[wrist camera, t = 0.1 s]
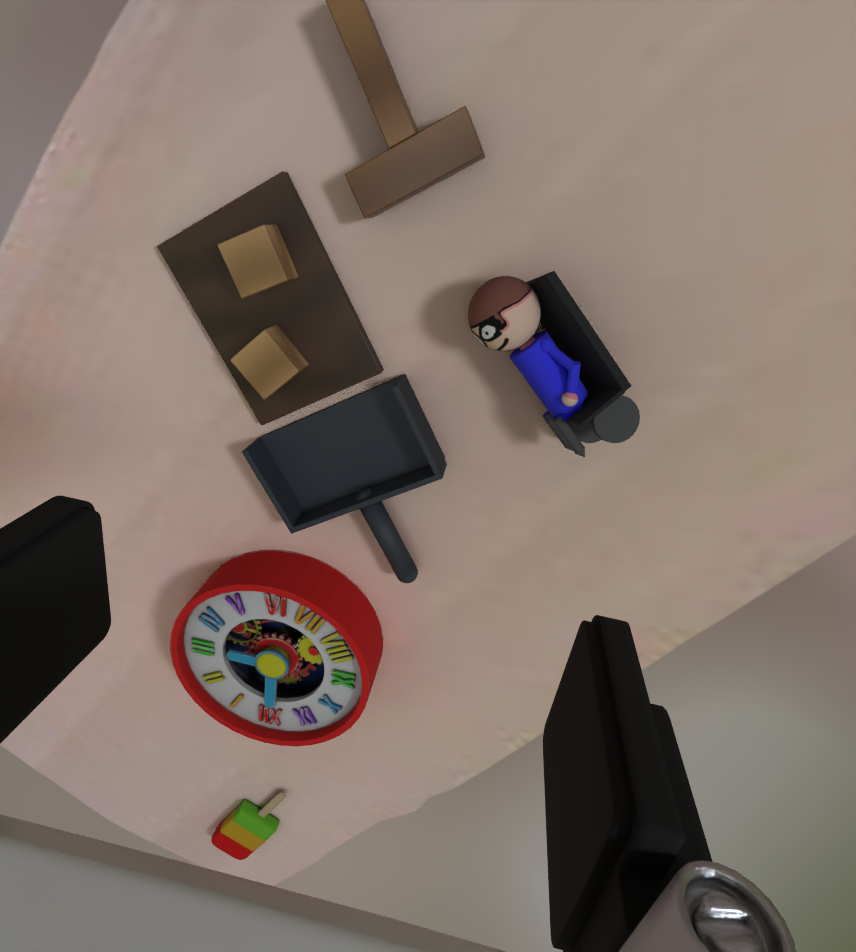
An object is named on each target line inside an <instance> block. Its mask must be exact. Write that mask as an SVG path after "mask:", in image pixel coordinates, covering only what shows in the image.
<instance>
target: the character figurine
mask: <svg viewBox="0 0 856 952" xmlns="http://www.w3.org/2000/svg"><path fill="white" fill-rule="evenodd" d="M468 321H469V325H470V328H471V331H472V333H473V334H474V336H475V337H476V338H477V340H478V341H479V342H481V343H482V344H483V345H485V346H486V347H488V348H491V349H494V350H498V351H507V350H512V349H514V351H513V352H512V353H511V355H510V358H511V360H512V361H513V363H514V364H515V365H516V367H517V368H518V369H519V371H520V372H521V374H522V375H523V376H524V378H525V379H526V381H527V382H528V383H529V385H530V386H531V387H532V389H533V390H534V392H535V393H536V394H537V396H538V397H539V398H540V400H541V401H542V403H543V404H544V405H545V407H546V408H547V410H548V411H547V412H546V413H544V414H543V418H544V419H545V420H546V422H547V423H548V424H549V426H550V427H551V429H552V430H553V431H554V433H555V434H556V435H557V437H558V438H559V440H560V441H561V442H562V444H563V445H564V446H565V448H567V449H570V450H572V451H574V452H575V454H578V455H580V456H583V457H585V447H584V446H583V445H582V443H581V442H580V441H582V442H585V443H594V442H597V441H600V440H604V441H607V442H610V443H620V442H623V441H625V440H627V439H629V438H630V437H631V436H632V435H633V434H634V433H635V431H636V429H637V427H638V425H639V419H640V415H639V410H638V407H637V406H636V404H635V403H634V402H633V401H632V400H631V399H630V398H628V397H625V396H621V395H623V394H624V393H625V391H626V390H627V389H628V388H630V387H631V385H630V383H629V382H628V380H627V379H626V377H625V376H624V374H623V373H622V371H621V370H620V368H619V367H618V365H617V364H616V362H615V361H614V359H613V358H612V356H611V355H610V353H609V352H608V350H607V349H606V347H605V346H604V344H603V343H602V341H601V340H600V338H599V337H598V335H597V334H596V332H595V331H594V329H593V328H592V326H591V325H590V323H589V322H588V320H587V319H586V317H585V316H584V314H583V313H582V311H581V310H580V308H579V307H578V306H577V304H576V303H575V301H574V300H573V298H572V297H571V295H570V294H569V292H568V291H567V289H566V288H565V286H564V285H563V283H562V282H561V280H560V279H559V277H558V276H557V274H556V273H555V271H553V272H550V273H548V274H545V275H543V276H540V277H538V278H536V279H533V280H531V281H528V282H524V281H522V280H521V279H518V278H515V277H510V276H501V277H496V278H493V279H491V280H489V281H487V282H485V283H484V284H483V285H482V286H481V287H479V288H478V290H477V291H476V292H475V294H474V295H473V297H472V299H471V301H470V305H469V309H468ZM539 321H540V322H541V324H542V325H543V327H544V328H545V330H546V331H547V332H546V331H542V332H539V333H537V334H535V335H534V333H535V331H536V329H537V327H538V325H539ZM548 334H549V335H550V336H549V335H548ZM533 335H534V336H533ZM551 338H552V339H551ZM555 344H556V345H557V346H556V345H555ZM557 347H558V348H559V349H558V348H557ZM580 380H581V381H582V382H581V381H580Z"/></svg>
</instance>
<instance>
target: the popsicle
mask: <svg viewBox="0 0 856 952" xmlns="http://www.w3.org/2000/svg"><path fill="white" fill-rule="evenodd" d="M285 796H286V795H285V794H284V793H282V792H279V793H278V794H277V795H276V796H275V797H273V798H272V799H271V800H270V801H269V802H268V803H267V804H266V805H265V806H264V807H263V808H262V809H260V808H259V807H257V806H255V805H254V804H252V803H251V802H249V801H247V800H244V801H243V802H242V803H241V804H240V805H239V806H238V807H237V808H236V809H235V810H234V811H233V812H232V813H231V814H230V815H229V816H228V817H227V818H226V819H225V820H224V821H223V822H222V823H221V824H220V825H219V826H218V827H217V828H216V830H215V832H214V834H213V836H212V840H211V841H212V844H213V845H214V846H216V847H217V848H219V849H220V850H222V851H224V852H225V853H227V854H229V855H230V856H232V857H234V858H236V859H239V860H243V859H245V858H247V857H248V856H249V855H250V854H251V853H252V852H254V851H255V850H256V849H257V848H258V847H259V846H260V845H261V844H263V843H264V842H265V841H266V840H267V839H268V838H269V837H270V836H272V835H273V834H274V833H275V832H276V830H277V827H278V825H279V820H278V819H277V818H275V817H273V816H272V815H270V814H268V813H269V812H271V811H272V810H273V809H274V808H275V807H276V806H277V805H278V804H279V803H280V802H281V801H282V800H283V799H284V798H285Z"/></svg>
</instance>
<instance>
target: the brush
mask: <svg viewBox="0 0 856 952" xmlns="http://www.w3.org/2000/svg"><path fill="white" fill-rule="evenodd" d="M326 3H327V5H328V7H329V10H330V12H331V14H332V17H333V19H334V21H335V24H336V26H337V28H338V31H339V33H340V35H341V38H342V40H343V42H344V45H345V47H346V49H347V52H348V54H349V56H350V59H351V61H352V63H353V66H354V68H355V70H356V73H357V75H358V77H359V80H360V82H361V84H362V87H363V89H364V91H365V94H366V96H367V98H368V101H369V103H370V105H371V108H372V110H373V113H374V115H375V117H376V120H377V122H378V124H379V127H380V129H381V131H382V134H383V136H384V138H385V141H386V143H387V145H388V147H389V148H390V149H388V150H387V151H385V152H383V153H381V154H380V155H378V156H376V157H374V158H373V159H371V160H369V161H367V162H366V163H364V164H362V165H360V166H359V167H357V168H355V169H353V170H352V171H350V172H348V173H346V174H345V177H346V179H347V181H348V183H349V185H350V188H351V190H352V192H353V194H354V196H355V199H356V201H357V203H358V205H359V207H360V209H361V212H362V214H363V216H364V218H373V217H375V216H376V215H378V214H380V213H382V212H384V211H386V210H388V209H390V208H391V207H393V206H395V205H397V204H399V203H401V202H403V201H404V200H406V199H408V198H410V197H412V196H414V195H416V194H418V193H419V192H421V191H423V190H425V189H427V188H429V187H431V186H432V185H434V184H436V183H438V182H440V181H442V180H444V179H446V178H447V177H449V176H451V175H453V174H455V173H457V172H459V171H460V170H462V169H464V168H466V167H468V166H470V165H472V164H474V163H475V162H477V161H479V160H481V159H483V158H485V154H484V152H483V149H482V146H481V144H480V141H479V138H478V136H477V133H476V131H475V128H474V125H473V123H472V120H471V117H470V115H469V112H468V110H467V108H466V106H464V107H462V108H460V109H459V110H457V111H455V112H453V113H452V114H450V115H448V116H446V117H445V118H443V119H441V120H439V121H438V122H436V123H434V124H432V125H431V126H429V127H427V128H425V129H424V130H422V131H420V132H418V130H417V127H416V125H415V122H414V120H413V117H412V115H411V113H410V110H409V108H408V105H407V103H406V100H405V98H404V95H403V93H402V91H401V88H400V86H399V83H398V81H397V78H396V76H395V73H394V71H393V68H392V66H391V64H390V61H389V59H388V56H387V54H386V51H385V49H384V46H383V44H382V41H381V39H380V37H379V34H378V32H377V29H376V27H375V24H374V22H373V19H372V17H371V15H370V12H369V10H368V7H367V5H366V2H365V0H326Z"/></svg>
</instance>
